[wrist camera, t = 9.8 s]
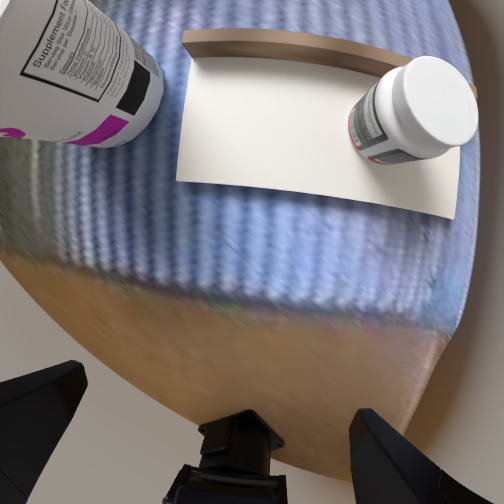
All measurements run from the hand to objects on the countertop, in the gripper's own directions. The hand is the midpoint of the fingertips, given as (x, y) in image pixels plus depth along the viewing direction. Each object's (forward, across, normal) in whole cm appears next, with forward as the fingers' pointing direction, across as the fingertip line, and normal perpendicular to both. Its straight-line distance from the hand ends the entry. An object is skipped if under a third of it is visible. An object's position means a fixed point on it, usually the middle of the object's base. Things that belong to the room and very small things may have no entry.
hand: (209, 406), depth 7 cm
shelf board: (+13, -5, -11) cm, 18 cm away
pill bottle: (+12, -8, -11) cm, 18 cm away
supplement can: (+13, +11, -13) cm, 22 cm away
